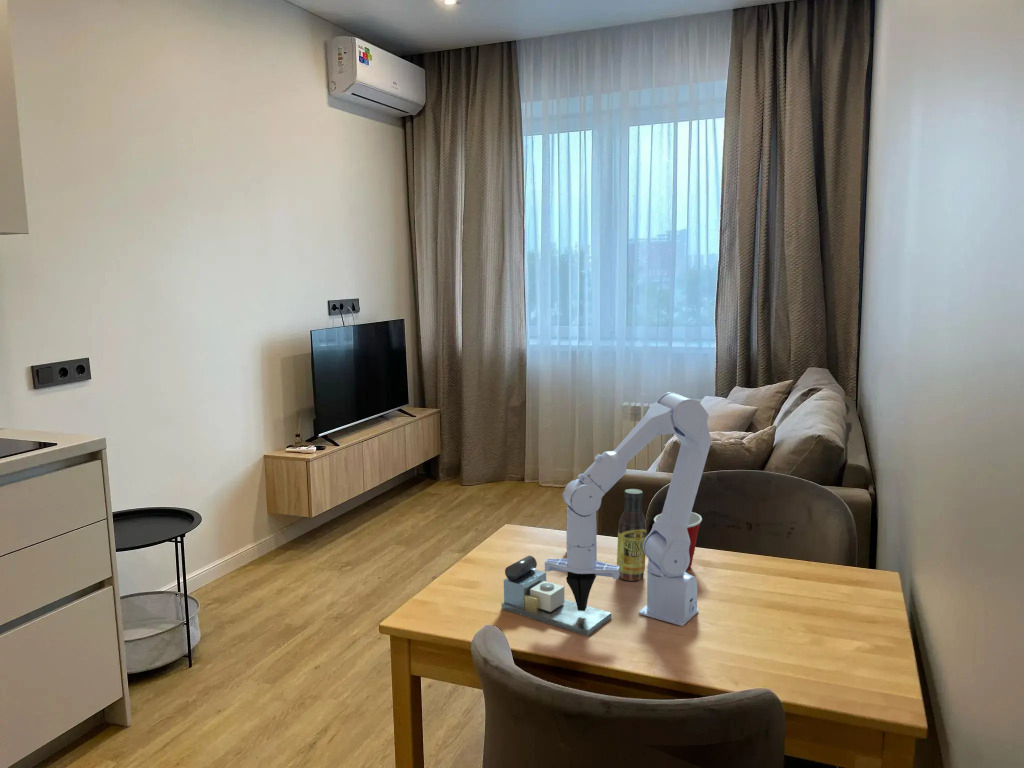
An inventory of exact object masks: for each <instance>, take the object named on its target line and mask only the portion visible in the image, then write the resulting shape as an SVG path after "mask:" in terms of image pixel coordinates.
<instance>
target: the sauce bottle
mask: <svg viewBox="0 0 1024 768" xmlns="http://www.w3.org/2000/svg"><path fill="white" fill-rule="evenodd" d="M623 494H624V495H623V497H624V507H623V508H624V511H622V514H621V515H620V517H619V520H618V531H617V548H616V549H617V550H616V551H617V552H616V566H620V576H619V578H618V579H621V580H624V581H629V582H634V581H635V582H636V581H639V580H642V579H643V578H644V575H645V573H644V572H645V571H646V555H645V553H644V551H643V543H644V540H645V538H646V537H647V524H646V517H645V515H644V513H643V508H642V503H643V498H644V495H643V494H644V492H643V491H642V490H641V489H638V488H629V489H625V490H624V493H623Z"/></svg>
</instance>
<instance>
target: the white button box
mask: <svg viewBox="0 0 1024 768" xmlns="http://www.w3.org/2000/svg"><path fill="white" fill-rule="evenodd" d="M530 595H531V596H535V597H538V598H539V608H540V609H543V610H546V611H549V612H551V611H553V610H554V609H556V608H557V607H559V606H560V605H562V604H563V603H564V599H565V586H564V585H561V584H556V583H553V582H550V581H547V580H546V581H543V582H541V583H539V584H538V585H536V586H534V587H533V588H531V589H530Z"/></svg>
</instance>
